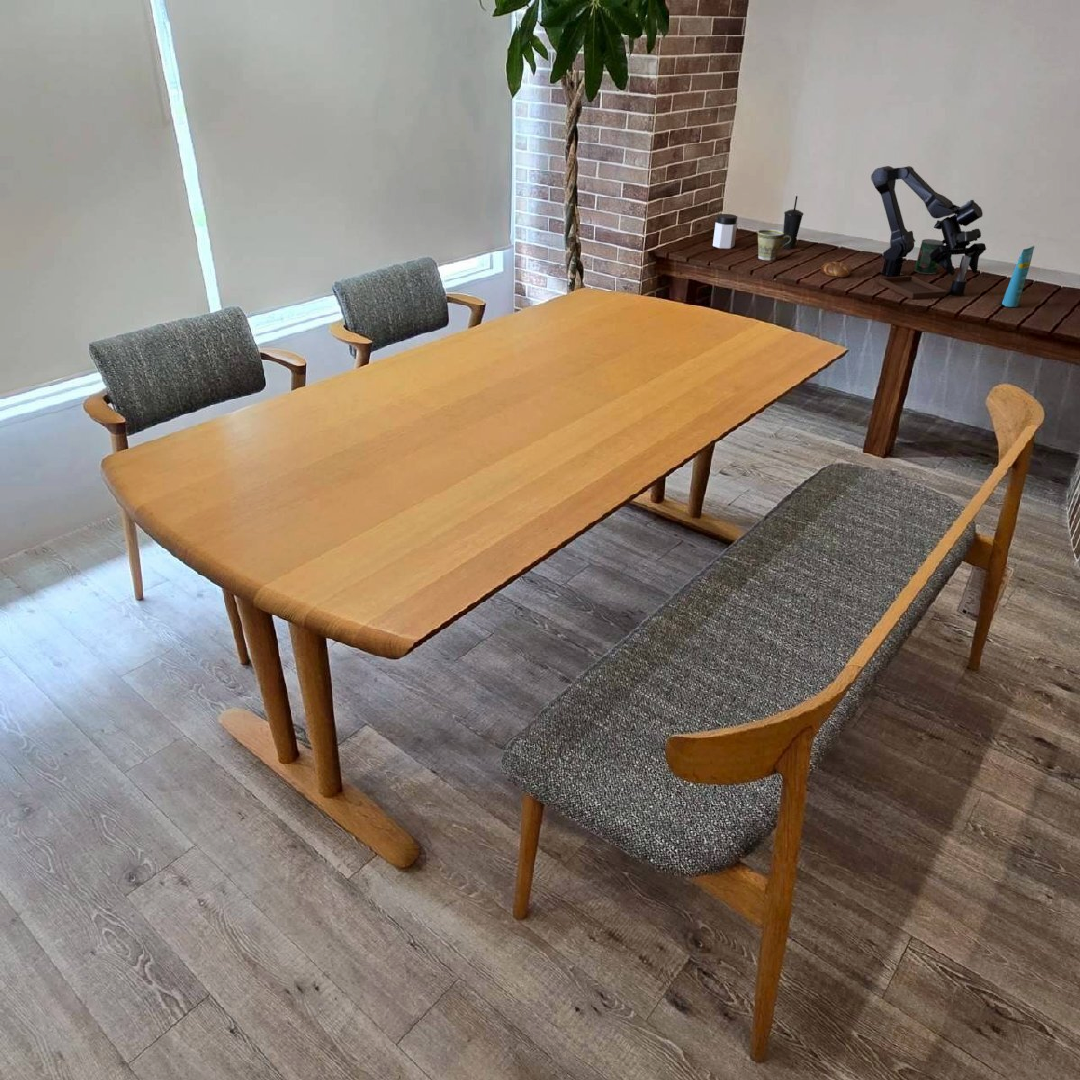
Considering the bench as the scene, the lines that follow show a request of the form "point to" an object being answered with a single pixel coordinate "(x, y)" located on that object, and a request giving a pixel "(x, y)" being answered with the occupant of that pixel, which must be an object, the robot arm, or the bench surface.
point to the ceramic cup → (769, 243)
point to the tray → (912, 287)
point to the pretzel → (836, 269)
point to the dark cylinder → (960, 277)
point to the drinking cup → (791, 226)
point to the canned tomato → (927, 257)
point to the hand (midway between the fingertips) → (964, 273)
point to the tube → (1018, 278)
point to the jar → (725, 231)
